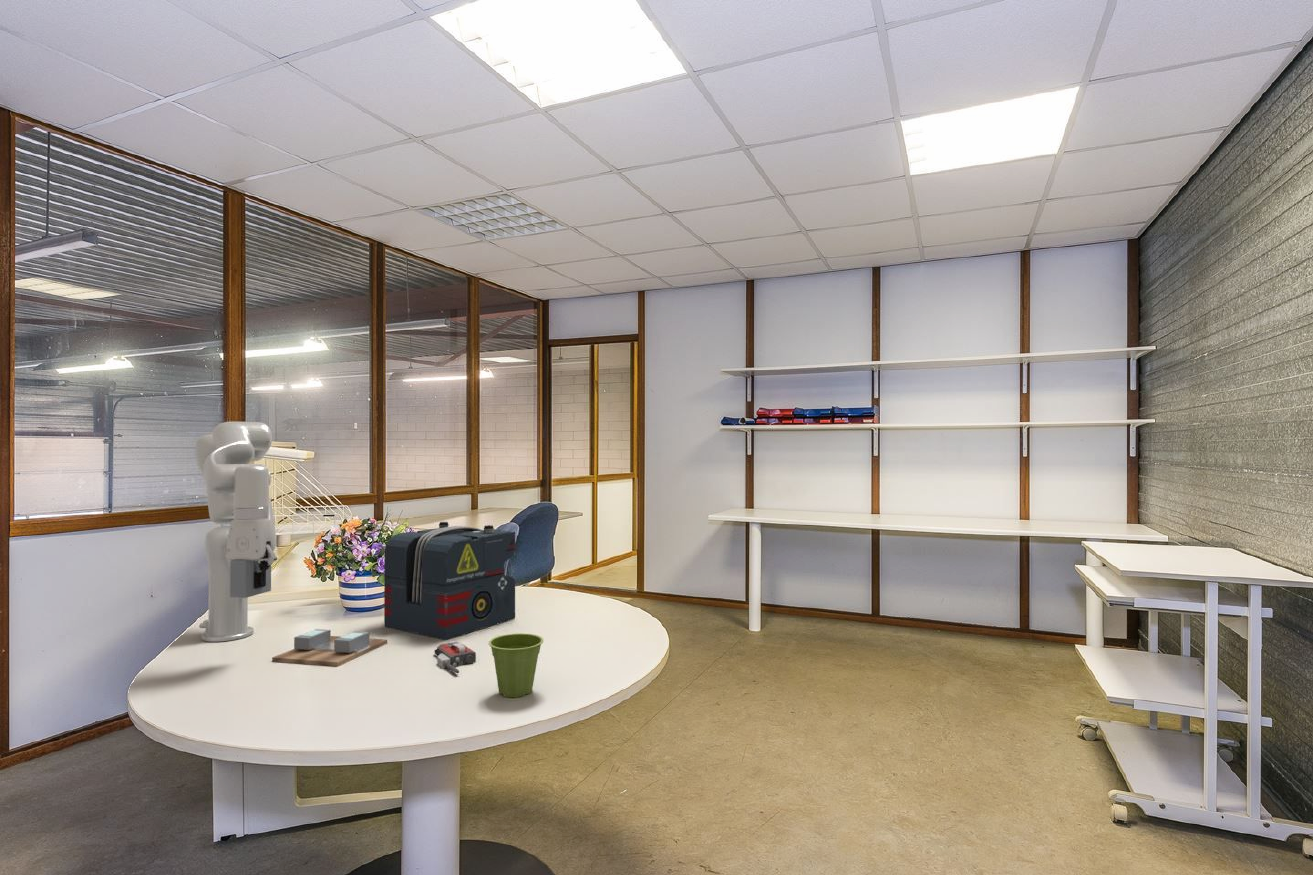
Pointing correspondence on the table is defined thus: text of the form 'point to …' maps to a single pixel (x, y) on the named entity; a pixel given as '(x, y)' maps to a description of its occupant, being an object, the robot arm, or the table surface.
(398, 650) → the table surface
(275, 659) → the board
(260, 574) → the robot arm
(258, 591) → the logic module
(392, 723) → the table surface
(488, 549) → the power unit
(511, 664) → the plant pot
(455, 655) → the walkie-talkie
